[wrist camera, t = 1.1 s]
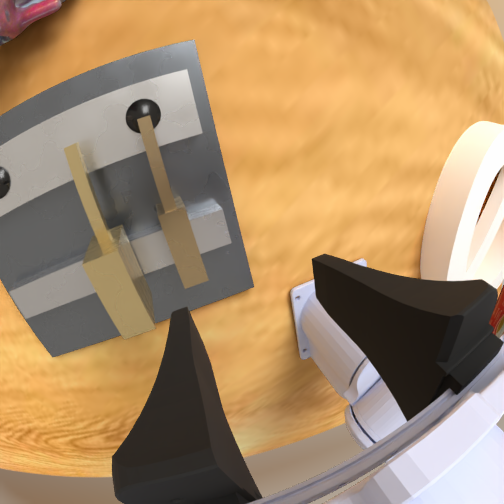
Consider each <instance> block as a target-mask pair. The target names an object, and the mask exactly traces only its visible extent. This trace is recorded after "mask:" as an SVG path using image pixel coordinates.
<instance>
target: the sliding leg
mask: <svg viewBox="0 0 504 504" xmlns="http://www.w3.org/2000/svg"><path fill="white" fill-rule="evenodd" d="M64 152H65V155H66V158H67V161H68V164H69V167H70V170H71V173H72V176H73V179H74V182H75V185H76V188H77V190H78V193H79V196H80V198H81V201H82V204H83V206H84V209H85V211H86V214H87V216H88V219H89V221H90V224H91V226H92V229H93V231H94V233H95V235H94V236H92V238H91V241H90V244H89V246H88V249H87V252H86V254H85V257H84V260H83V263H82V266H83V268H84V270H85V272H86V274H87V276H88V278H89V280H90V281H91V283H92V285H93V287H94V289H95V291H96V293H97V294H98V296H99V298H100V300H101V302H102V303H103V305H104V307H105V309H106V310H107V312H108V314H109V316H110V317H111V319H112V321H113V322H114V324H115V326H116V327H117V329H118V330H119V332H120V334H121V335H122V337H123V338H124V339H127V338H130V337H133V336H136V335H139V334H142V333H145V332H148V331H151V330H153V329H156V325H155V317H154V309H153V300H152V292H151V290H150V288H149V286H148V284H147V282H146V279H145V277H144V275H143V273H142V271H141V268H140V266H139V264H138V261H137V259H136V257H135V254H134V252H133V250H132V247H131V245H130V242H129V240H128V238H127V235H126V233H125V230H124V228H123V225H119V226H117V227H114V228H112V229H109V227H108V225H107V222H106V220H105V217H104V215H103V212H102V210H101V207H100V204H99V202H98V199H97V196H96V194H95V191H94V188H93V185H92V183H91V180H90V177H89V174H88V171H87V168H86V165H85V162H84V159H83V155H82V152H81V149H80V146H79V142H77V143H75V144H72V145H70V146H68V147H66V148H64Z"/></svg>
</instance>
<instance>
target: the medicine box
mask: <svg viewBox="0 0 504 504" xmlns="http://www.w3.org/2000/svg"><path fill="white" fill-rule="evenodd" d="M489 324H490V325H492V326H493V327H494V330H493V332H492V333H493V334H495V335H496V336H497V337H498V338H500V337H501V336H502V335H503V334H504V285H503V288H502V291H501V293H500V296H499V298H498V301H497V303H496V306H495V308H494V311H493V314H492V316H491V319H490V321H489Z"/></svg>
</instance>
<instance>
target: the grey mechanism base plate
mask: <svg viewBox="0 0 504 504" xmlns="http://www.w3.org/2000/svg"><path fill="white" fill-rule="evenodd" d="M77 142H79V146H80V149H81V152H82V155H83V159H84V162H85V165H86V168H87V171H88V174H89V177H90V180H91V183H92V185H93V188H94V191H95V194H96V196H97V199H98V202H99V204H100V207H101V210H102V212H103V215H104V217H105V220H106V222H107V225H108V227H109V229H112V228H114V227H117V226H119V225H123V228H124V230H125V233H126V235H127V238H128V240H129V242H130V245H131V247H132V250H133V252H134V254H135V257H136V259H137V261H138V264H139V266H140V268H141V271H142V273H143V275H144V277H145V279H146V282H147V284H148V286H149V288H150V290H151V292H152V300H153V309H154V317H155V323H158V322H161V321H163V320H166V319H169V318H171V314H172V312H173V311H176V310H178V309H181V308H184V307H188V310H189V311H191V310H194V309H197V308H199V307H202V306H205V305H208V304H210V303H213V302H216V301H218V300H221V299H224V298H226V297H229V296H232V295H234V294H237V293H240V292H242V291H245V290H247V289H250V288H253V287H254V284H253V280H252V276H251V272H250V268H249V264H248V260H247V256H246V252H245V248H244V244H243V240H242V236H241V232H240V228H239V224H238V220H237V215H236V211H235V207H234V203H233V199H232V195H231V191H230V187H229V183H228V179H227V174H226V170H225V166H224V162H223V158H222V154H221V150H220V145H219V141H218V137H217V133H216V129H215V125H214V121H213V116H212V112H211V108H210V104H209V100H208V95H207V91H206V87H205V83H204V78H203V74H202V70H201V66H200V62H199V57H198V53H197V49H196V44H195V40H190V41H185V42H181V43H176V44H172V45H168V46H164V47H160V48H156V49H153V50H149V51H145V52H142V53H139V54H135V55H132V56H129V57H126V58H123V59H120V60H117V61H114V62H111V63H108V64H105V65H103V66H100V67H97V68H95V69H92V70H90V71H87V72H85V73H82V74H80V75H78V76H75V77H73V78H71V79H68V80H66V81H64V82H62V83H60V84H58V85H56V86H53V87H51V88H49V89H47V90H45V91H43V92H41V93H39V94H38V95H36V96H34V97H32V98H30V99H28V100H26V101H25V102H23V103H21V104H19V105H18V106H16V107H14V108H13V109H11V110H9V111H8V112H6V113H4V114H3V115H1V116H0V279H1V281H2V283H3V285H4V286H5V288H6V290H7V291H8V293H9V295H10V296H11V298H12V300H13V301H14V303H15V305H16V306H17V308H18V309H19V311H20V312H21V314H22V316H23V317H24V319H25V320H26V322H27V323H28V324H29V326H30V327H31V329H32V330H33V332H34V333H35V334H36V336H37V337H38V339H39V340H40V341H41V343H42V344H43V345H44V347H45V348H46V349H47V351H48V352H49V353H50V355H51V356H52V357H55V356H59V355H62V354H65V353H68V352H71V351H74V350H78V349H81V348H84V347H87V346H90V345H93V344H96V343H99V342H102V341H105V340H108V339H111V338H114V337H117V336H120V335H121V334H120V332H119V330H118V329H117V327H116V326H115V324H114V322H113V321H112V319H111V317H110V316H109V314H108V312H107V310H106V309H105V307H104V305H103V303H102V302H101V300H100V298H99V296H98V294H97V293H96V291H95V289H94V287H93V285H92V283H91V281H90V280H89V278H88V276H87V274H86V272H85V270H84V268H83V266H82V263H83V260H84V257H85V254H86V252H87V249H88V246H89V244H90V241H91V238H92V236H94V235H95V233H94V231H93V229H92V226H91V224H90V221H89V219H88V216H87V214H86V211H85V209H84V206H83V204H82V201H81V198H80V196H79V193H78V190H77V188H76V185H75V182H74V179H73V176H72V173H71V170H70V167H69V164H68V161H67V158H66V155H65V152H64V148H66V147H68V146H70V145H72V144H75V143H77Z"/></svg>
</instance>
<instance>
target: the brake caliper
mask: <svg viewBox="0 0 504 504" xmlns="http://www.w3.org/2000/svg"><path fill="white" fill-rule="evenodd" d="M64 1H66V0H0V46H1V45H2V44H4V43H6V42H8V41H10V40H12V39H14V38H15V37H17V36H18V35H19V34H20V33H22V32H23V31H24V30H25V29H26V28H27V27H28V26H29V25H30V24H31V23H33V22H34V21H36V20H39V19H41V18H43V17H46V16H48V15H50V14H52V13H54V12H56V11H58V10H59V9H60V7H61V3H62V2H64Z"/></svg>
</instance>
